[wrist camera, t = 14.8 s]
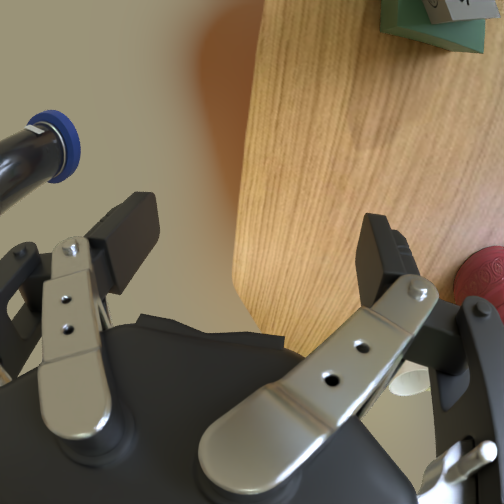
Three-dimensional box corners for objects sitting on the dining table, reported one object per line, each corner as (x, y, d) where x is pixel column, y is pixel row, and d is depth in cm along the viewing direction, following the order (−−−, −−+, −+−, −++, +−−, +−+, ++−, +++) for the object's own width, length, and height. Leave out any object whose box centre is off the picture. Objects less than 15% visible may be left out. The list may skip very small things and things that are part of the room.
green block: (379, 32, 27) (397, 26, 20) (381, -36, 21) (397, -56, 15) (452, 51, 25) (483, 53, 19) (454, -14, 20) (484, -25, 14)
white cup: (421, 348, 52) (429, 393, 44) (381, 352, 54) (385, 398, 46) (428, 320, 48) (440, 367, 40) (385, 324, 50) (391, 372, 42)
